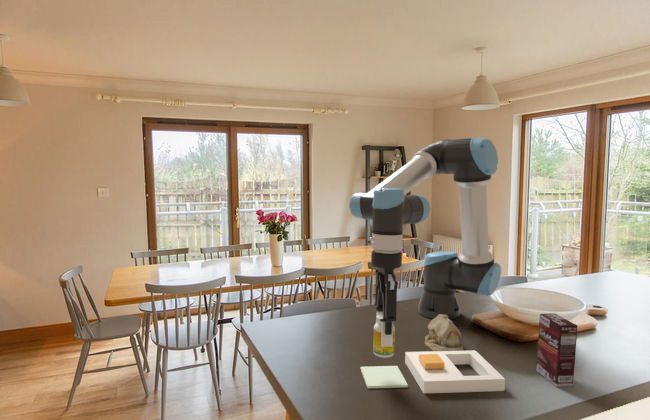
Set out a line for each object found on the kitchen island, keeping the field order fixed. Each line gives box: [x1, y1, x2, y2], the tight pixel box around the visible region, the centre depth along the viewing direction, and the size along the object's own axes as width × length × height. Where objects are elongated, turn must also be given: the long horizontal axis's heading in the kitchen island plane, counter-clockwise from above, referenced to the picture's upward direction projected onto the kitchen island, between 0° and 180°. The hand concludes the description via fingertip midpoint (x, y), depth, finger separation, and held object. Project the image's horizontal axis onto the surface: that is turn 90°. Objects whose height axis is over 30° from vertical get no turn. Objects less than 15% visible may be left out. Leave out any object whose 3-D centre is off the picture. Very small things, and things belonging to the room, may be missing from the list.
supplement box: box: [535, 312, 578, 388], centre depth 104 cm, size 9×5×16 cm, turn 5°
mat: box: [359, 365, 409, 389], centre depth 104 cm, size 10×10×1 cm
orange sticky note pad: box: [419, 354, 445, 369], centre depth 105 cm, size 5×5×4 cm
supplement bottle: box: [372, 314, 396, 358], centre depth 103 cm, size 5×5×10 cm
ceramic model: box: [424, 314, 465, 351], centre depth 124 cm, size 14×11×10 cm
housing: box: [404, 349, 506, 394], centre depth 106 cm, size 16×20×3 cm
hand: (383, 340), depth 103 cm, fingers closed on supplement bottle, 5 cm apart
